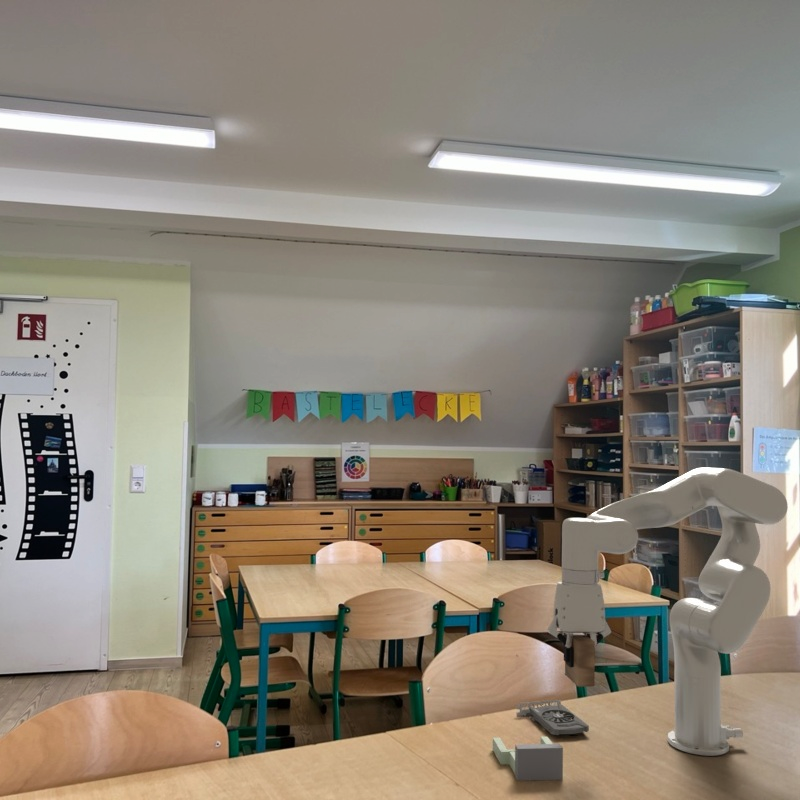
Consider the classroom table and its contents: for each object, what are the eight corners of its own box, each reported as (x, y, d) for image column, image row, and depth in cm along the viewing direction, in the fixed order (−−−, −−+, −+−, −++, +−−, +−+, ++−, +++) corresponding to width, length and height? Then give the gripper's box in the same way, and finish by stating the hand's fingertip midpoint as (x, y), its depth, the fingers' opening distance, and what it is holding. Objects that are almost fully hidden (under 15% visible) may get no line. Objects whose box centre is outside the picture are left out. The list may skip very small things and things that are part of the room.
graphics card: (514, 702, 180) (560, 697, 183) (514, 717, 180) (560, 713, 183) (543, 728, 164) (593, 723, 167) (543, 745, 164) (593, 740, 167)
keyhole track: (547, 748, 160) (547, 719, 160) (570, 779, 145) (570, 747, 145) (492, 749, 159) (492, 720, 159) (510, 780, 144) (510, 749, 144)
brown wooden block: (580, 674, 160) (581, 631, 160) (594, 686, 152) (594, 641, 152) (564, 674, 159) (565, 631, 160) (577, 686, 151) (578, 641, 152)
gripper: (610, 574, 162) (610, 660, 160) (536, 573, 160) (535, 660, 159) (624, 580, 154) (624, 670, 153) (547, 579, 153) (546, 671, 151)
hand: (579, 664), depth 156 cm, fingers closed on brown wooden block, 3 cm apart
